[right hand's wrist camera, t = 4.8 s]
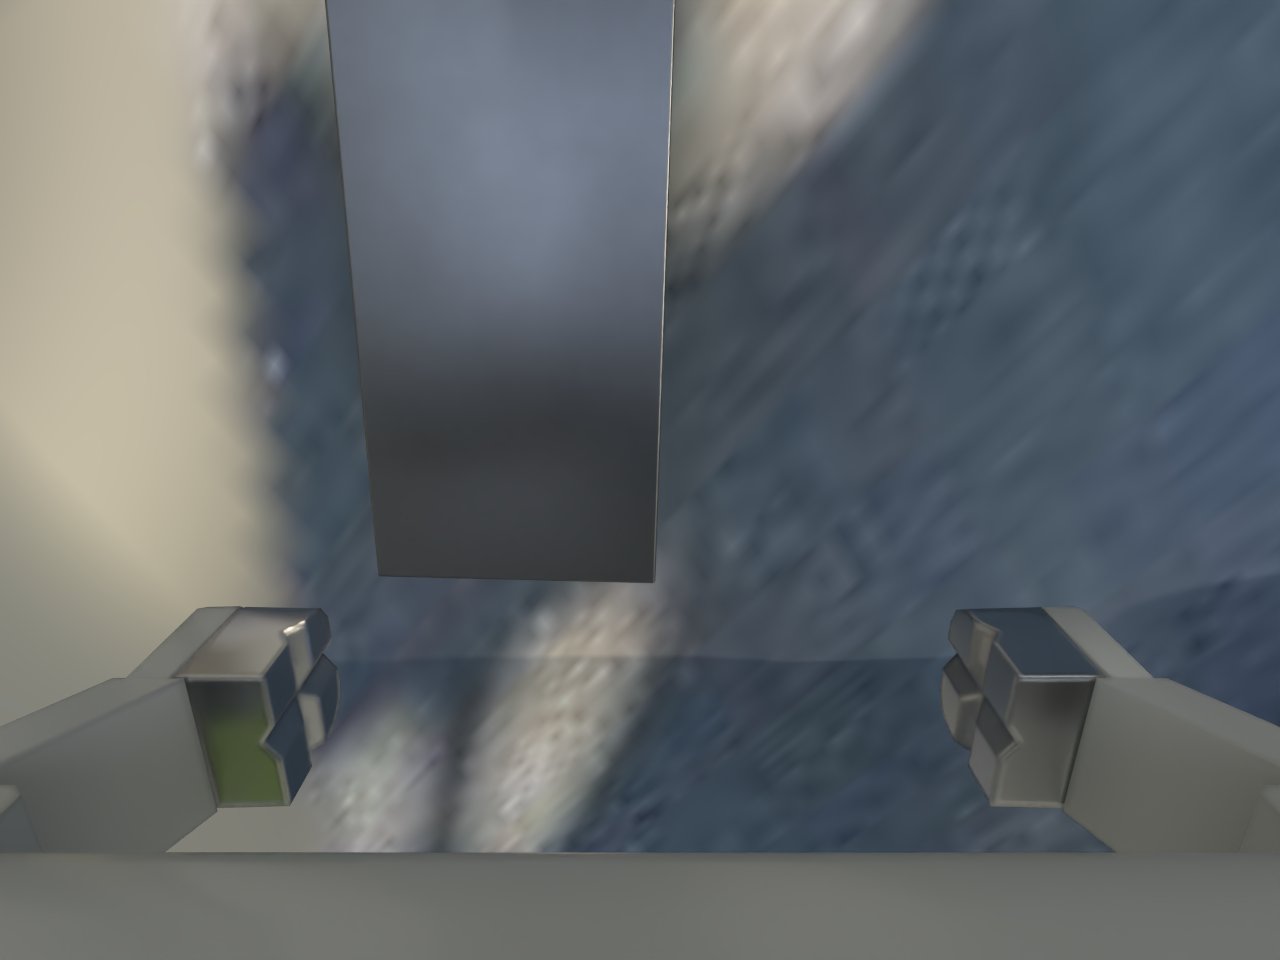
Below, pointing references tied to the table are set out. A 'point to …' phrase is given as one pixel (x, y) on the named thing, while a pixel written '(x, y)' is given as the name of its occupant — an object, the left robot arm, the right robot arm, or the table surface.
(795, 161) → the table surface
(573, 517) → the bar
